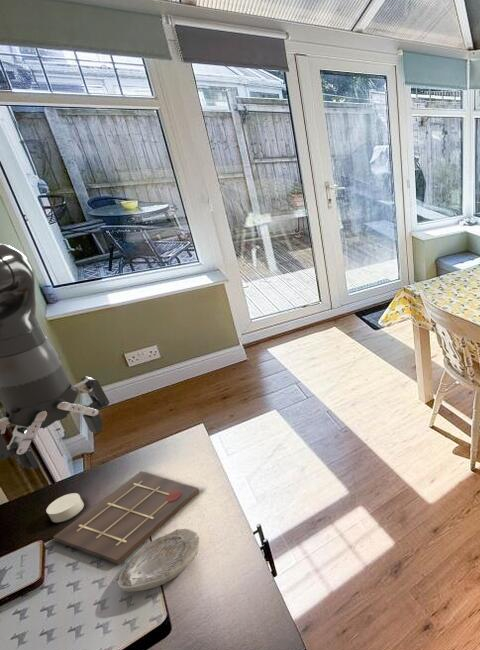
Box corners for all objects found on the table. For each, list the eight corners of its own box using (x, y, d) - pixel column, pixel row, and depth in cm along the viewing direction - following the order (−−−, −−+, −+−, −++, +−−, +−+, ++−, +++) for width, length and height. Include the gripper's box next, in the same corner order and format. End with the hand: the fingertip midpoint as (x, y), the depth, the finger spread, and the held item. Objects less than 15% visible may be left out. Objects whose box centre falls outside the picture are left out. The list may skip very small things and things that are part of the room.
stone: (44, 519, 82) (39, 510, 81) (73, 498, 87) (68, 490, 86) (62, 525, 81) (57, 516, 80) (90, 504, 86) (85, 496, 85)
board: (55, 541, 78) (52, 536, 78) (142, 474, 93) (141, 470, 92) (119, 564, 75) (116, 559, 74) (199, 492, 89) (198, 487, 89)
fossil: (129, 561, 76) (123, 551, 75) (204, 529, 82) (200, 519, 81) (117, 613, 68) (110, 602, 67) (201, 573, 73) (196, 562, 72)
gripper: (69, 343, 72) (101, 416, 78) (-56, 391, 60) (-5, 473, 66) (96, 352, 70) (127, 427, 76) (-28, 404, 57) (22, 487, 64)
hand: (66, 448), depth 71 cm, fingers open, 8 cm apart
